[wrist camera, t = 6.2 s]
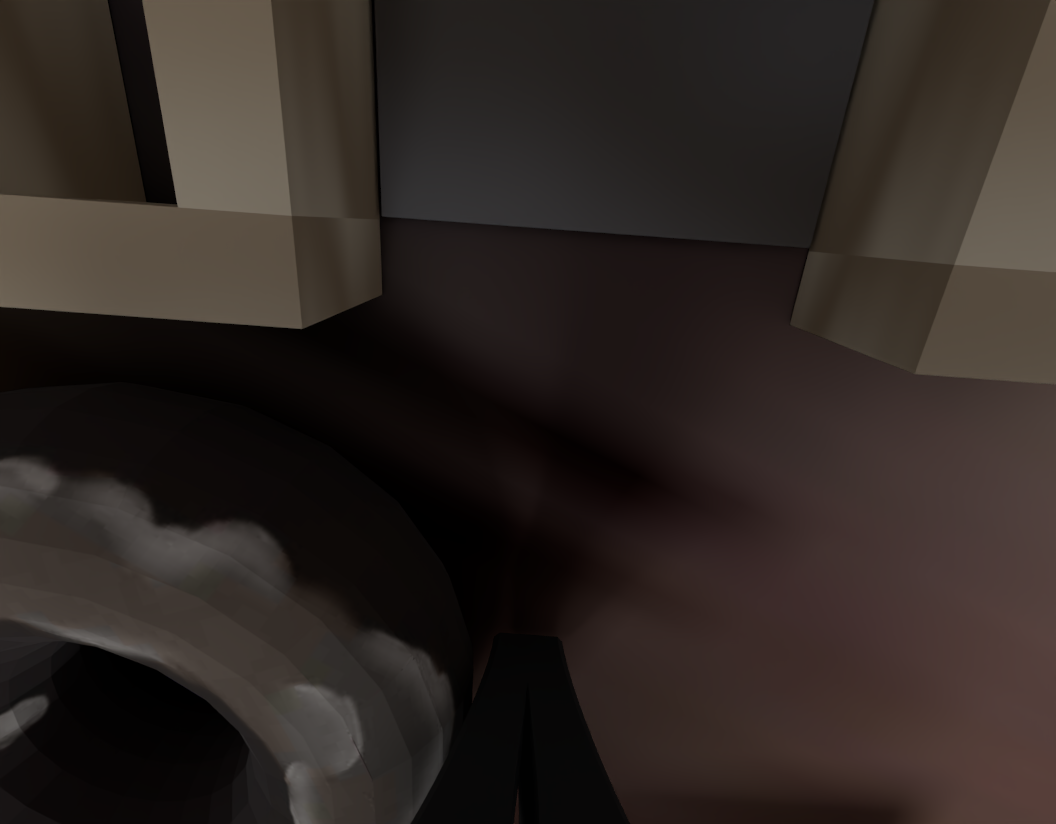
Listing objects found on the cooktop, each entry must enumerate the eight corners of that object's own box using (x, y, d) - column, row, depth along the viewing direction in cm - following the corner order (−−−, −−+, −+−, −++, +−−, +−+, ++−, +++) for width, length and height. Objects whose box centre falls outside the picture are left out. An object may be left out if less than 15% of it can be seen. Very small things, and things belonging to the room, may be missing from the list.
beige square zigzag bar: (856, 887, 14) (935, 1053, 11) (-235, 807, 14) (-430, 954, 11) (1373, -99, 6) (2041, -358, 3) (-1052, -278, 6) (-2337, -687, 3)
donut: (260, 235, 8) (31, 243, 5) (573, 688, 12) (588, 901, 8) (-156, 511, 11) (-538, 667, 7) (211, 823, 14) (92, 1039, 10)
